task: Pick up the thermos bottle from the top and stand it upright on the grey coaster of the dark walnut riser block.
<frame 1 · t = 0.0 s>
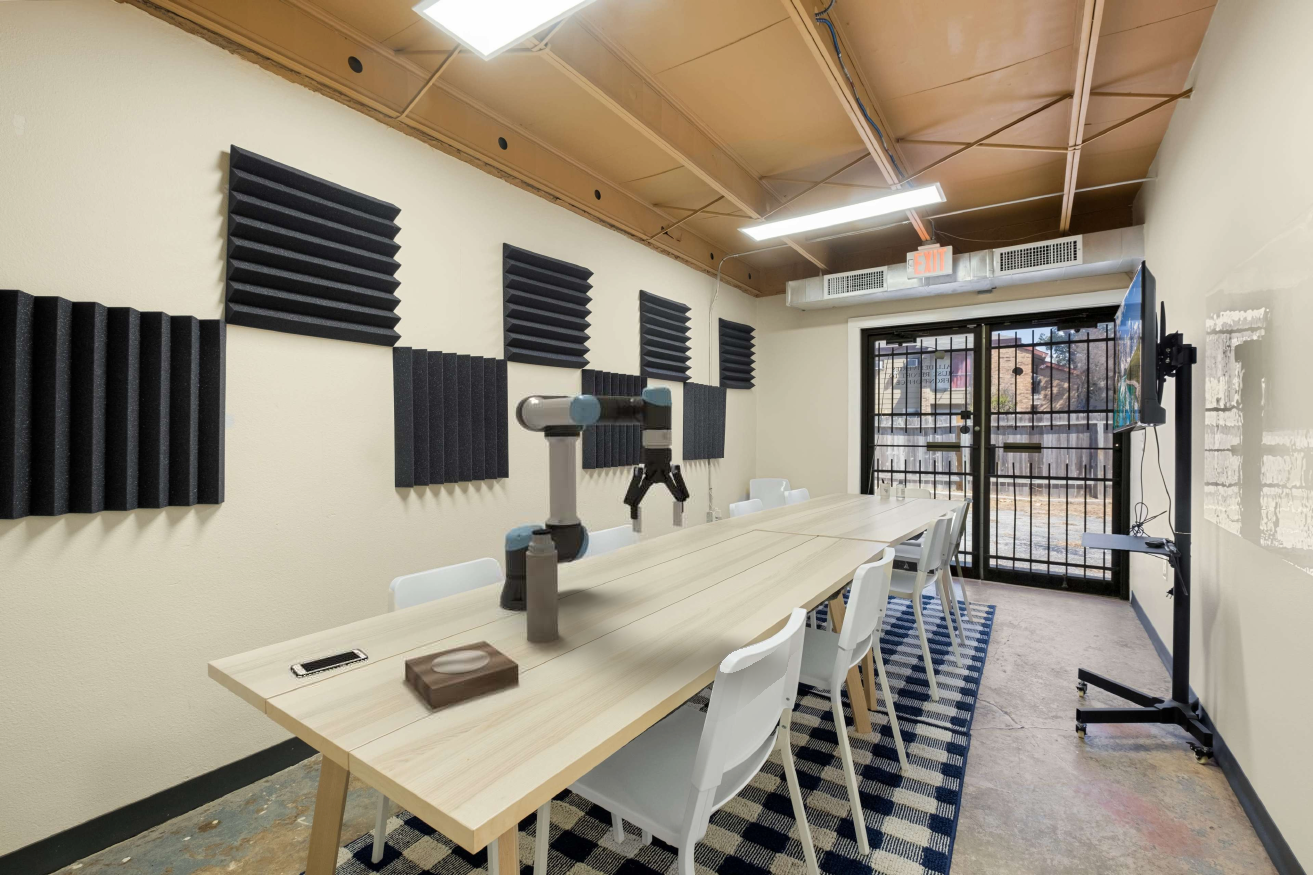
hand: (657, 529, 150), 28 cm above the table, tool pointing down, fingers open, 13 cm apart
cell phone: (330, 666, 135), on the table
walnut riser: (461, 680, 125), on the table
thermos bottle: (542, 637, 151), on the table
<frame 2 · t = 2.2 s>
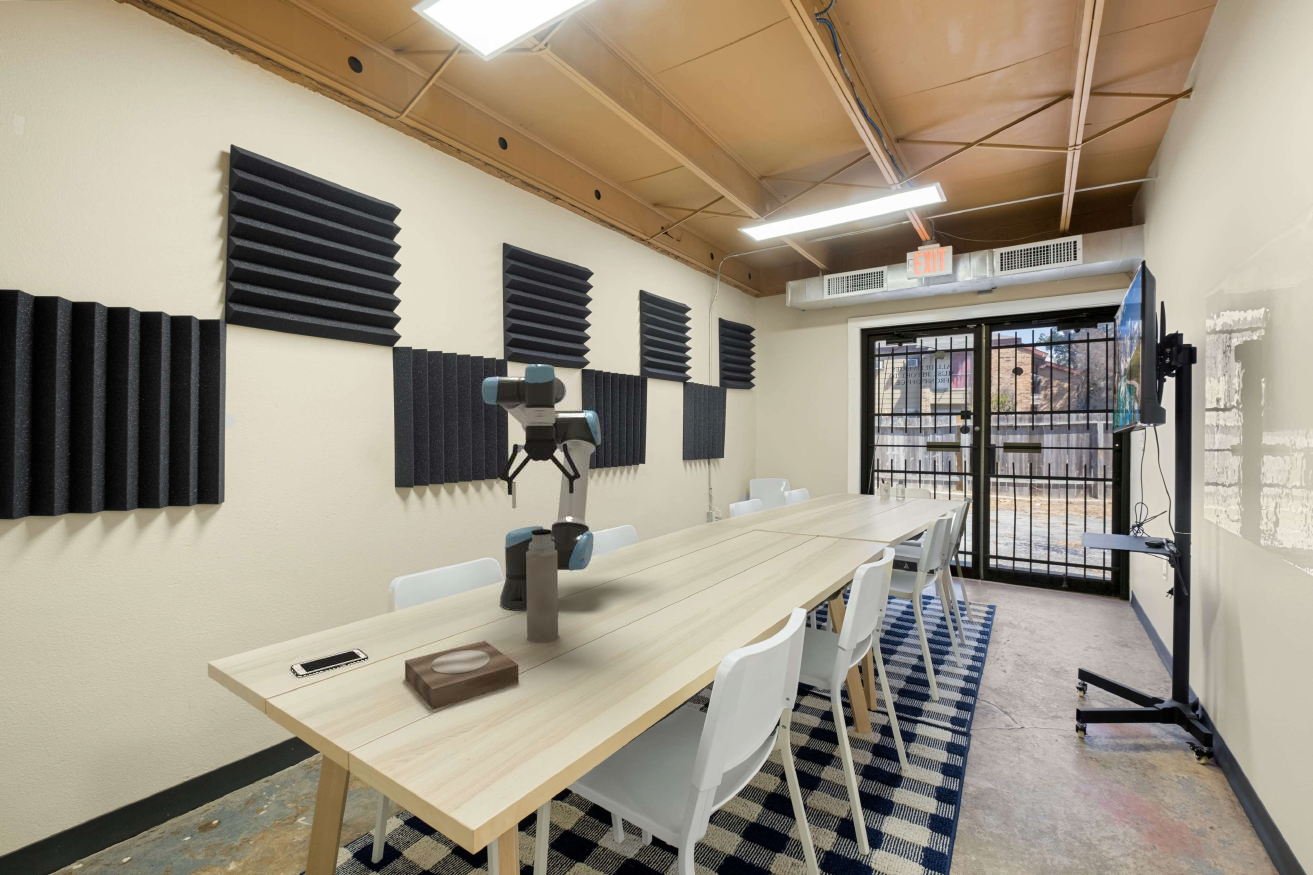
hand: (541, 507, 150), 34 cm above the table, tool pointing down, fingers open, 13 cm apart
nothing on the table moved.
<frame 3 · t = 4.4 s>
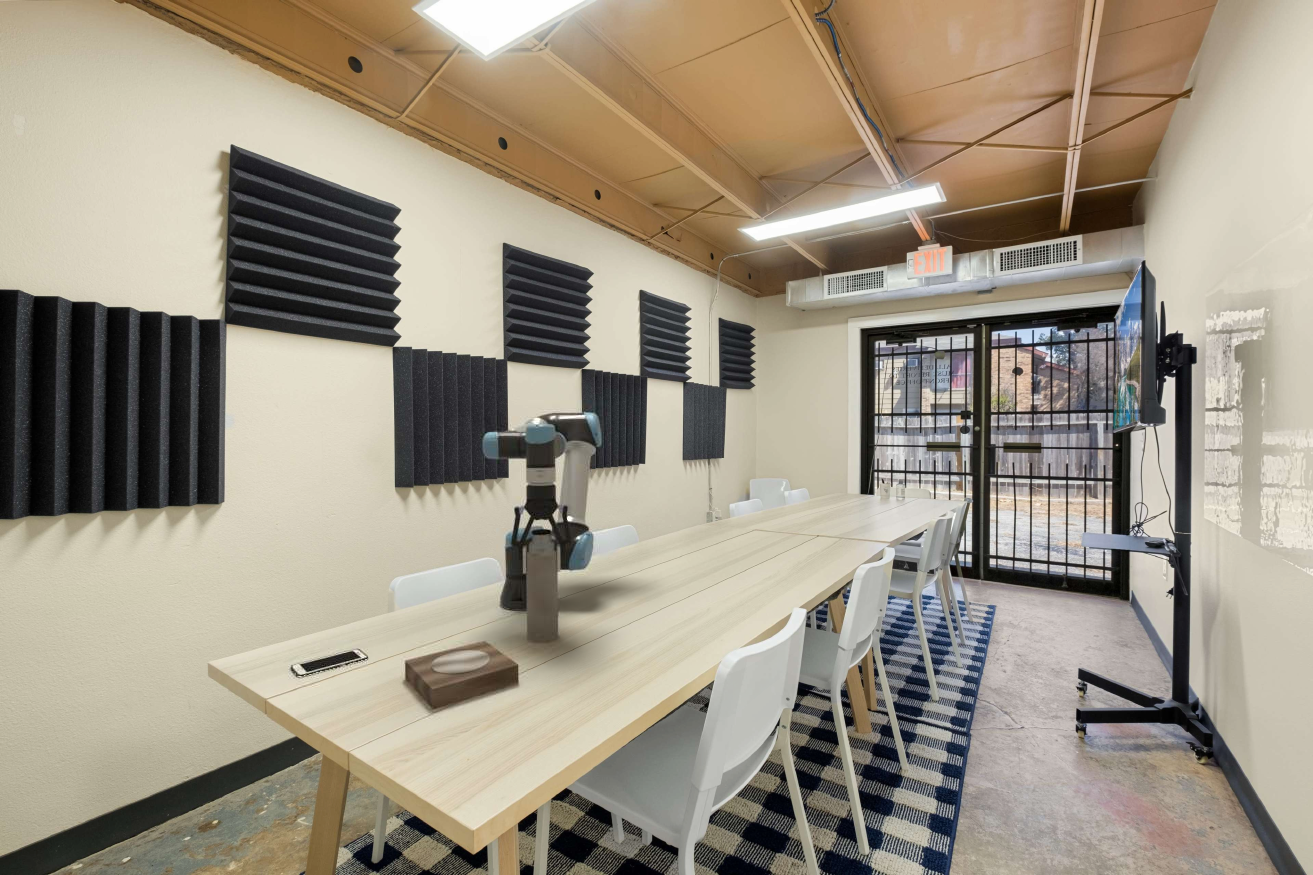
hand: (542, 571, 151), 17 cm above the table, tool pointing down, fingers closed on thermos bottle, 8 cm apart
thermos bottle: (542, 637, 151), on the table, touching gripper
everything else where it was.
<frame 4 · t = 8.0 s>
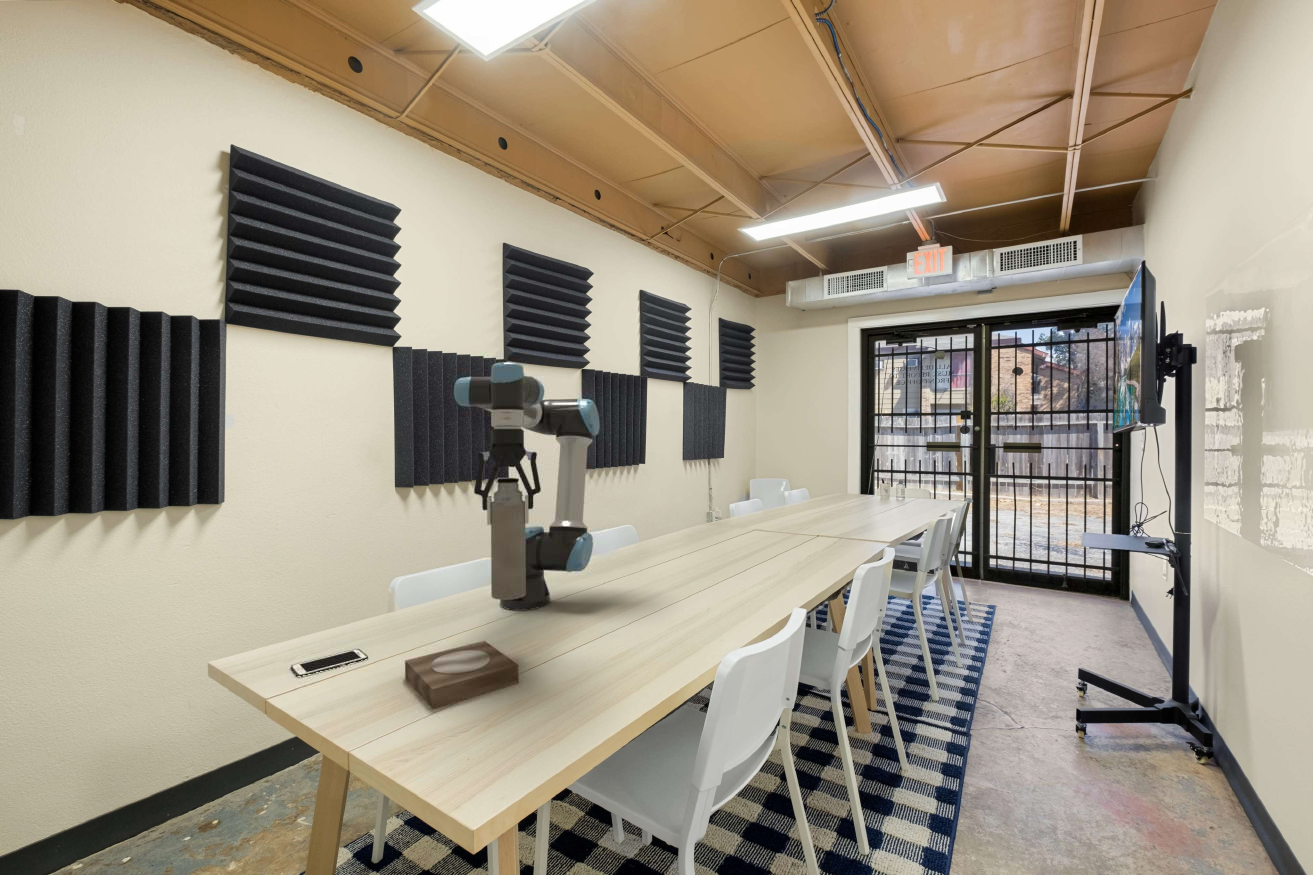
hand: (508, 523, 138), 32 cm above the table, tool pointing down, fingers closed on thermos bottle, 8 cm apart
thermos bottle: (508, 596, 139), point 14 cm above the table, touching gripper
everything else where it was.
when the fingers open (23 cm above the table, at t = 11.9 s): thermos bottle drops 2 cm, resting on walnut riser.
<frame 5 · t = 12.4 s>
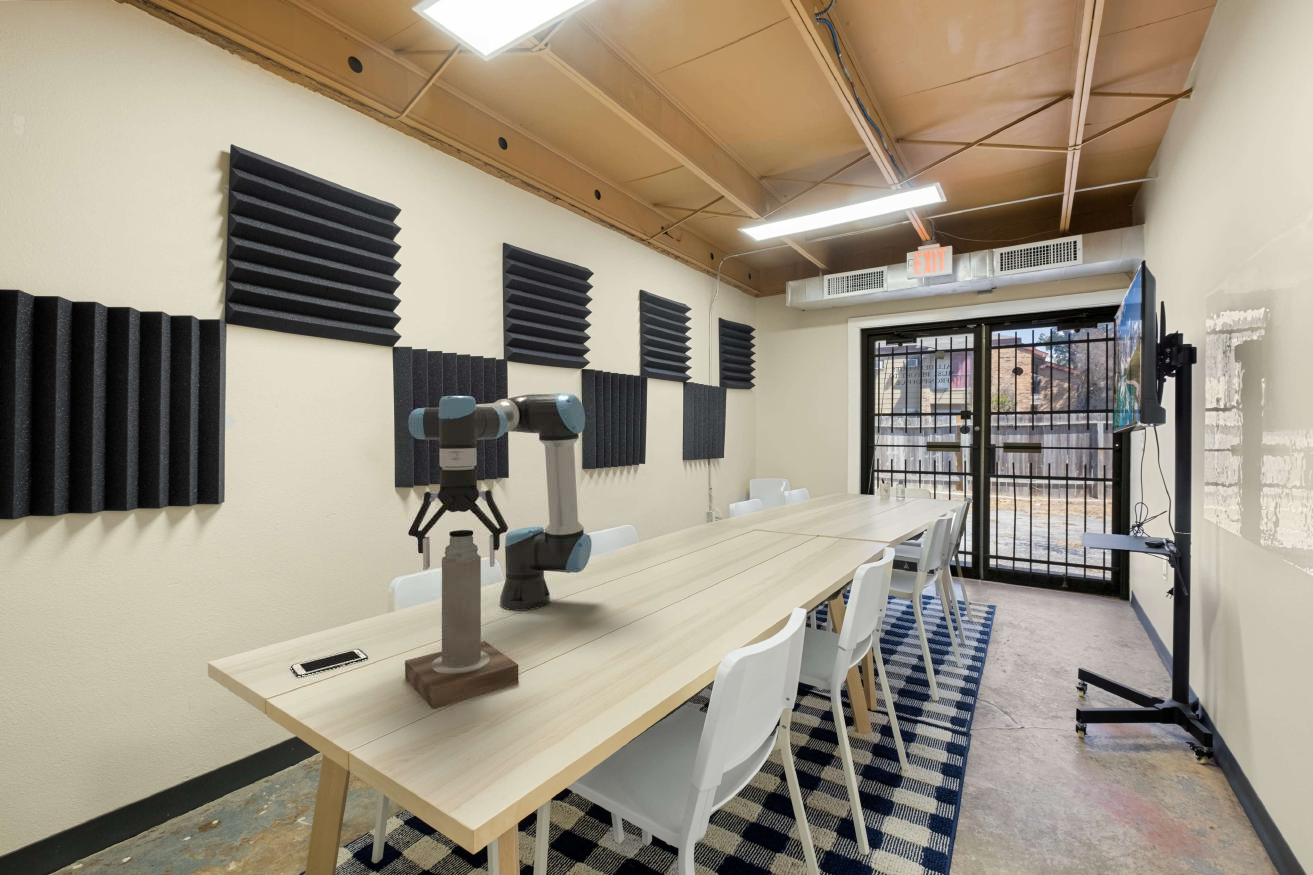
hand: (459, 566, 125), 25 cm above the table, tool pointing down, fingers open, 13 cm apart
thermos bottle: (461, 661, 125), point 4 cm above the table, touching walnut riser
everything else where it was.
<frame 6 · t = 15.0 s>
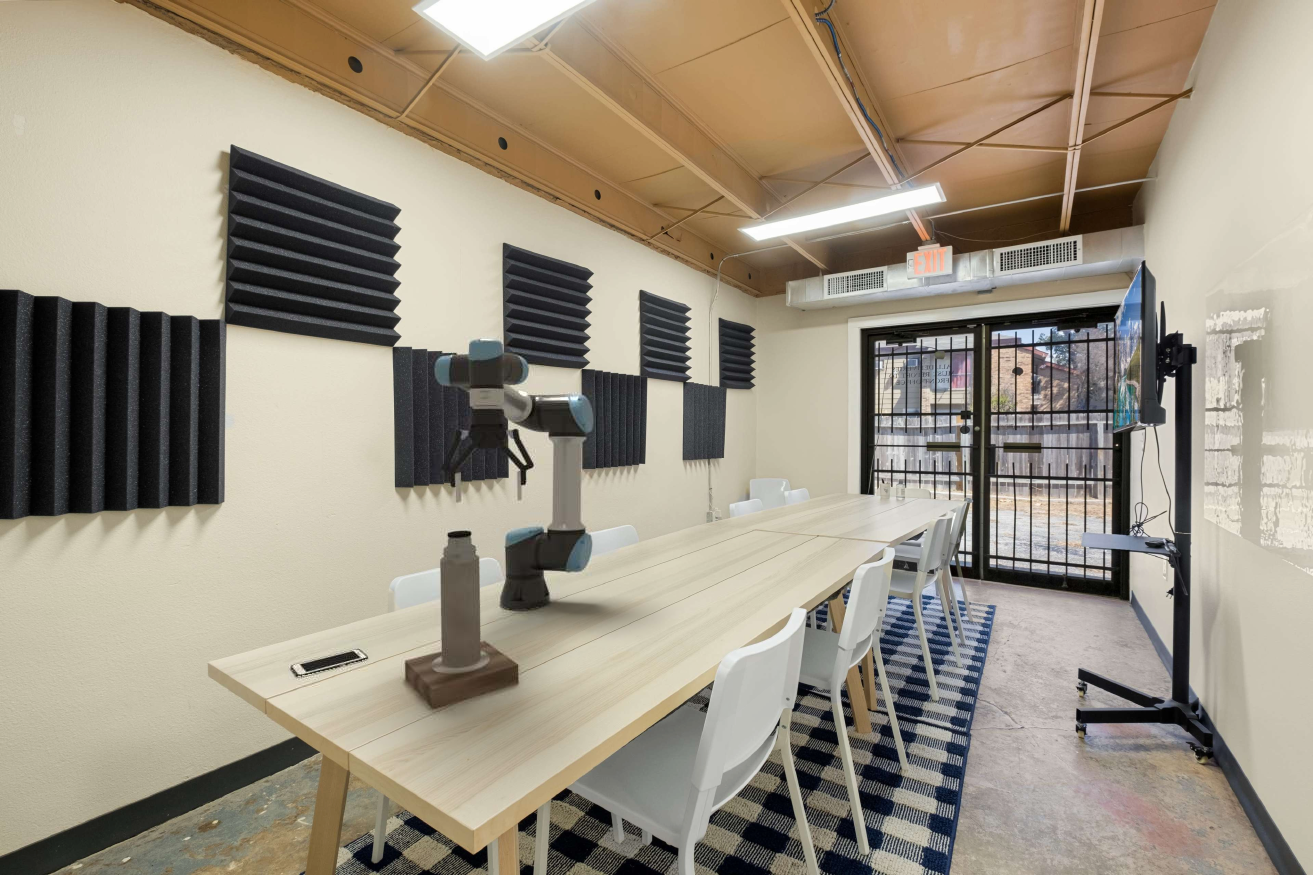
hand: (489, 500, 133), 38 cm above the table, tool pointing down, fingers open, 13 cm apart
nothing on the table moved.
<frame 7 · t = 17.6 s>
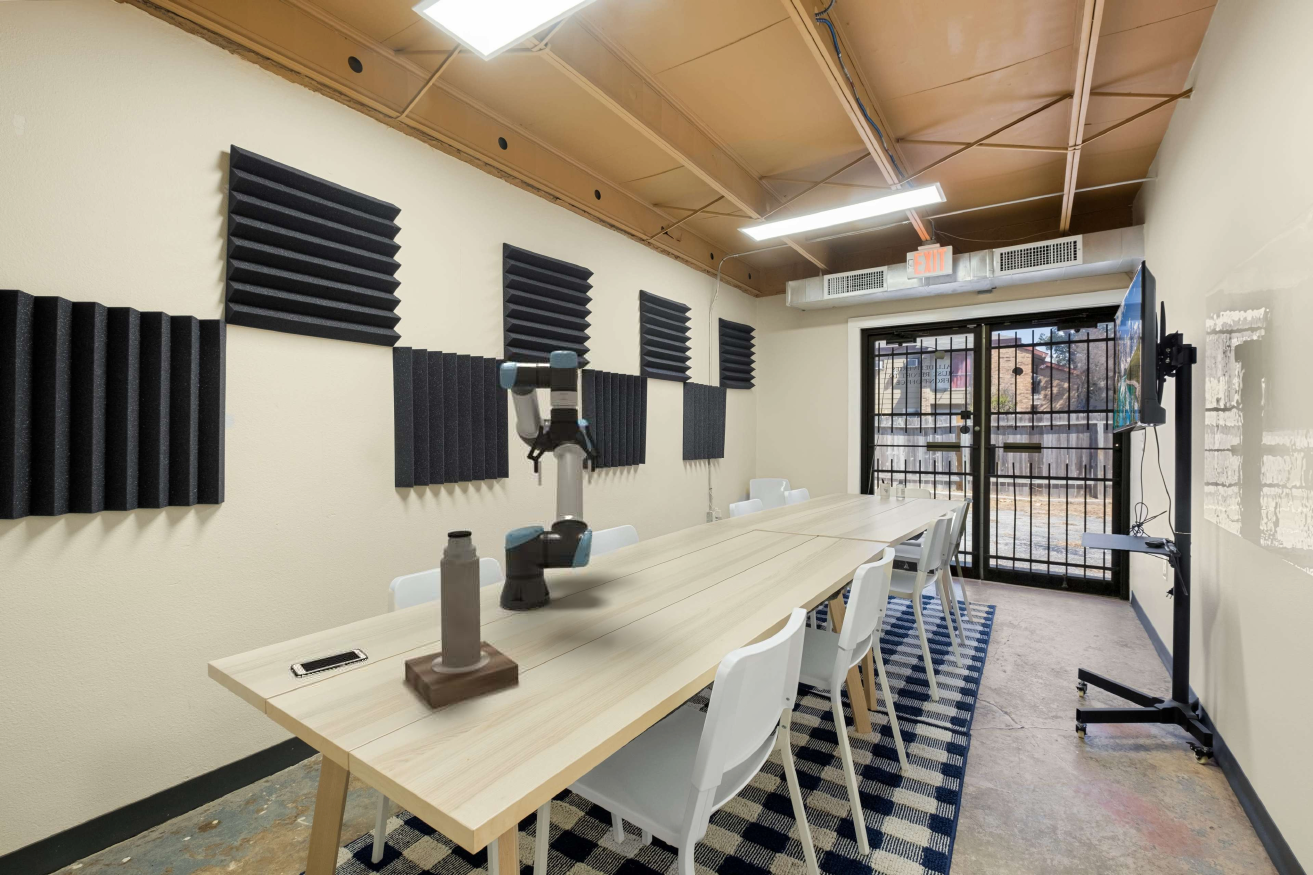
hand: (565, 484, 160), 39 cm above the table, tool pointing down, fingers open, 13 cm apart
nothing on the table moved.
at the end: thermos bottle inside the target area on the walnut riser (0.1 cm from its centre), point 4.1 cm above the walnut riser's base; thermos bottle tilted 0°; the gripper is holding nothing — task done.
